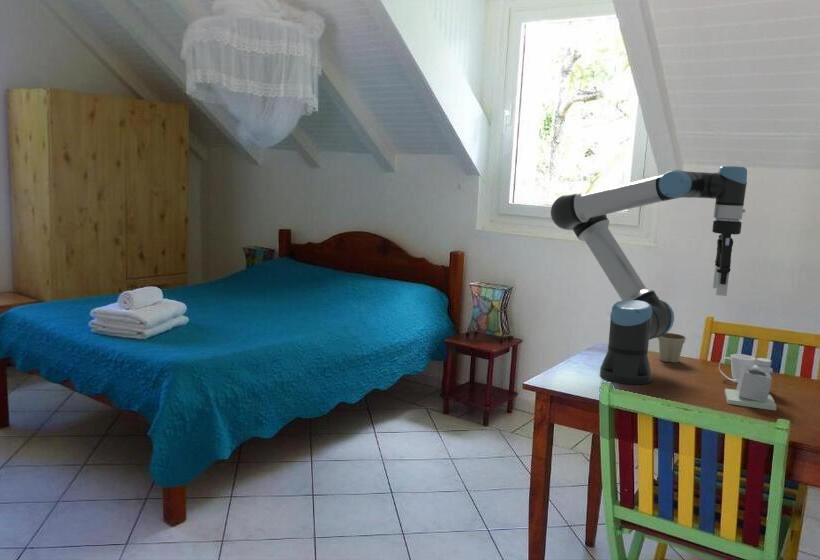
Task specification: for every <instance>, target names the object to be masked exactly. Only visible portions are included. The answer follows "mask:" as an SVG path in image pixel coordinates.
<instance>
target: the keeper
mask: <svg viewBox="0 0 820 560" xmlns="http://www.w3.org/2000/svg"><path fill="white" fill-rule="evenodd" d="M748 372H749V373H752V374H757V375H758V374H759V370H757V369H753V368H748ZM724 395H725V399H726V402H727V404H728V405H735V406H739V407H740V406H741V407H748V408H755V409H756V408H757V409H762V410H763V409H764V410H768V411H777V405H776V403H775V400H774V399H773V396H772V394H770V393H768V397H767V401H766V403H764V402H760V401H756V400H751V399H747V398H743V397H739V396H738V393H737V391H736V389H731V388H724Z"/></svg>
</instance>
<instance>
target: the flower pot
mask: <svg viewBox="0 0 820 560" xmlns="http://www.w3.org/2000/svg"><path fill="white" fill-rule="evenodd" d="M687 338H688V337H686V335H684V334H683V335H682V334H679V333H674V332H673V333H672V332H667V333H666V334H664V335H662V336H661V337H658V349H659V351H658V352H659V353H658V354H659V358H658V359H659V360H660V361H662V362H666V363H668V362H670V363H673V364H675V363H678V362H679V361H680V357H681V353H682V350H683V345H684V343H685V342H686V340H687Z"/></svg>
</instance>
